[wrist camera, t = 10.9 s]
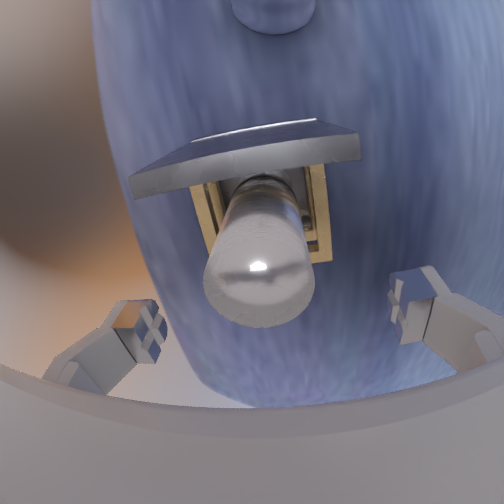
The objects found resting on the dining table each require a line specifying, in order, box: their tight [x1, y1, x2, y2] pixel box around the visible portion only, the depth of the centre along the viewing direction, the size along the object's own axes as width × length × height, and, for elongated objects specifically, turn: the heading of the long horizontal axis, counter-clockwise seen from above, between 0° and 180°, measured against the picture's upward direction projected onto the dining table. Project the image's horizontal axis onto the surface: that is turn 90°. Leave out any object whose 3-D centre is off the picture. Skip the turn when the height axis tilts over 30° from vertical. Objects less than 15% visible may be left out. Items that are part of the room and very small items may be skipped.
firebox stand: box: [128, 118, 362, 263], centre depth 16 cm, size 9×9×11 cm
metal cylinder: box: [203, 169, 315, 328], centre depth 15 cm, size 4×4×12 cm
